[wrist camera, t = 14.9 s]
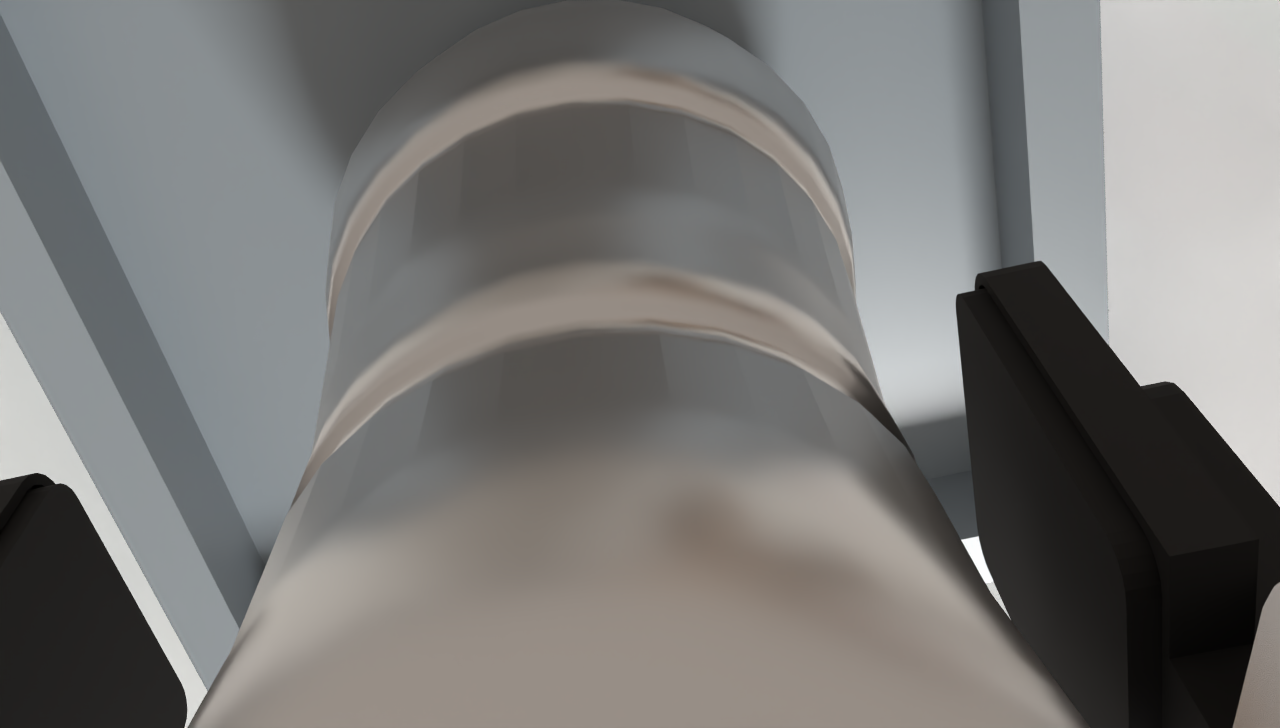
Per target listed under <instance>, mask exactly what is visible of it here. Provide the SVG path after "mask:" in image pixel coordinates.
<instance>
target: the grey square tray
mask: <svg viewBox="0 0 1280 728" xmlns="http://www.w3.org/2000/svg"><path fill="white" fill-rule="evenodd" d="M562 1H566V0H0V312H1V314H2V316H3V317H4V319H5V321H6V323H7V325H8V327H9V328H10V330H11V332H12V334H13V336H14V338H15V339H16V341H17V343H18V345H19V347H20V349H21V350H22V352H23V354H24V356H25V358H26V360H27V361H28V363H29V365H30V367H31V369H32V371H33V372H34V374H35V376H36V378H37V380H38V382H39V383H40V385H41V387H42V389H43V391H44V393H45V394H46V396H47V398H48V400H49V402H50V403H51V405H52V407H53V409H54V411H55V413H56V414H57V416H58V418H59V420H60V422H61V424H62V425H63V427H64V429H65V431H66V433H67V435H68V436H69V438H70V440H71V442H72V444H73V446H74V447H75V449H76V451H77V453H78V455H79V457H80V458H81V460H82V462H83V464H84V466H85V468H86V469H87V471H88V473H89V475H90V477H91V479H92V480H93V482H94V484H95V486H96V488H97V490H98V491H99V493H100V495H101V497H102V499H103V501H104V502H105V504H106V506H107V508H108V510H109V512H110V513H111V515H112V517H113V519H114V521H115V523H116V524H117V526H118V528H119V530H120V532H121V533H122V535H123V537H124V539H125V541H126V543H127V544H128V546H129V548H130V550H131V552H132V554H133V555H134V557H135V559H136V561H137V563H138V565H139V566H140V568H141V570H142V572H143V574H144V576H145V577H146V579H147V581H148V583H149V585H150V587H151V588H152V590H153V592H154V594H155V596H156V598H157V599H158V601H159V603H160V605H161V607H162V609H163V610H164V612H165V614H166V616H167V618H168V620H169V621H170V623H171V625H172V627H173V629H174V631H175V632H176V634H177V636H178V638H179V640H180V642H181V643H182V645H183V647H184V649H185V651H186V653H187V654H188V656H189V658H190V660H191V662H192V664H193V665H194V667H195V669H196V671H197V673H198V674H199V676H200V678H201V680H202V682H203V684H204V685H205V687H206V689H207V691H208V690H209V689H210V687H211V685H212V683H213V682H214V680H215V678H216V676H217V674H218V673H219V671H220V669H221V667H222V665H223V664H224V662H225V660H226V658H227V657H228V655H229V653H230V651H231V649H232V647H233V644H234V642H235V640H236V637H237V635H238V632H239V630H240V627H241V625H242V622H243V620H244V618H245V615H246V613H247V610H248V608H249V605H250V603H251V600H252V598H253V596H254V593H255V591H256V588H257V586H258V583H259V581H260V578H261V576H262V574H263V571H264V569H265V566H266V564H267V561H268V559H269V556H270V554H271V552H272V549H273V547H274V544H275V542H276V539H277V537H278V534H279V532H280V530H281V527H282V525H283V522H284V520H285V517H286V515H287V514H288V512H289V510H290V507H291V505H292V502H293V499H294V497H295V494H296V492H297V489H298V486H299V484H300V481H301V479H302V476H303V474H304V471H305V469H306V466H307V464H308V462H309V459H310V457H311V454H312V448H313V442H314V436H315V430H316V425H317V419H318V413H319V407H320V401H321V395H322V389H323V383H324V377H325V371H326V365H327V359H328V353H329V347H330V338H329V328H328V318H327V308H326V298H325V290H326V279H327V267H328V256H329V246H330V237H331V229H332V221H333V213H334V205H335V200H336V197H337V194H338V191H339V188H340V186H341V183H342V180H343V177H344V174H345V172H346V169H347V166H348V163H349V160H350V157H351V155H352V153H353V152H354V150H355V148H356V147H357V145H358V143H359V142H360V140H361V139H362V137H363V135H364V134H365V132H366V131H367V129H368V127H369V126H370V124H371V122H372V121H373V119H374V118H375V116H376V114H377V113H378V111H379V110H380V109H381V108H382V107H383V106H384V105H385V104H386V103H387V102H388V101H389V100H390V99H391V98H392V97H393V96H394V95H395V94H396V92H397V91H398V90H399V89H400V88H401V87H402V86H403V85H404V84H405V83H406V82H407V81H408V80H409V79H410V78H411V77H412V76H413V75H414V74H415V73H416V72H417V71H418V70H420V69H421V68H422V67H424V66H425V65H426V64H428V63H429V62H430V61H432V60H433V59H434V58H436V57H437V56H438V55H440V54H441V53H443V52H444V51H446V50H447V49H449V48H450V47H451V46H453V45H454V44H456V43H457V42H459V41H460V40H462V39H463V38H464V37H466V36H467V35H469V34H470V33H472V32H473V31H475V30H476V29H478V28H481V27H483V26H485V25H488V24H490V23H492V22H494V21H497V20H499V19H501V18H504V17H506V16H508V15H511V14H513V13H515V12H518V11H520V10H524V9H529V8H534V7H538V6H543V5H548V4H552V3H557V2H562ZM621 1H627V2H632V3H637V4H643V5H648V6H654V7H659V8H663V9H666V10H668V11H671V12H673V13H676V14H678V15H680V16H683V17H685V18H688V19H690V20H693V21H695V22H698V23H700V24H703V25H705V26H707V27H709V28H711V29H712V30H714V31H716V32H718V33H720V34H722V35H723V36H725V37H727V38H729V39H730V40H732V41H733V42H734V43H736V44H737V45H739V46H740V47H742V48H743V49H745V50H746V51H748V52H749V53H751V54H752V55H754V56H755V57H756V58H758V59H759V60H761V61H762V62H764V63H765V64H767V65H768V66H770V67H771V68H772V69H773V70H774V72H775V73H776V74H777V75H778V76H779V77H780V78H781V79H782V80H783V81H784V82H785V83H786V84H787V85H788V86H789V88H790V89H791V90H792V91H793V92H794V93H795V94H796V95H797V96H798V97H799V98H800V99H801V100H802V101H803V102H804V104H805V105H806V107H807V109H808V110H809V112H810V114H811V116H812V117H813V119H814V121H815V122H816V124H817V126H818V127H819V129H820V131H821V133H822V134H823V136H824V138H825V139H826V141H827V143H828V144H829V147H830V150H831V153H832V157H833V160H834V163H835V166H836V169H837V172H838V176H839V179H840V182H841V185H842V188H843V192H844V197H845V202H846V207H847V212H848V217H849V222H850V227H851V232H852V241H853V253H854V265H855V277H856V305H857V308H858V312H859V315H860V319H861V322H862V326H863V329H864V333H865V336H866V340H867V343H868V347H869V350H870V354H871V357H872V361H873V364H874V368H875V371H876V375H877V378H878V382H879V386H880V389H881V393H882V396H883V400H884V403H885V405H886V407H887V409H888V410H889V412H890V414H891V416H892V417H893V419H894V421H895V423H896V425H897V426H898V428H899V430H900V432H901V433H902V435H903V437H904V439H905V440H906V442H907V444H908V446H909V447H910V449H911V451H912V453H913V454H914V457H915V460H916V464H917V466H918V467H919V469H920V470H921V472H922V474H923V475H924V477H925V478H926V480H927V481H928V483H929V484H930V486H931V488H932V489H933V491H934V492H935V494H936V496H937V497H938V499H939V501H940V503H941V505H942V506H943V508H944V510H945V512H946V514H947V515H948V517H949V519H950V521H951V523H952V524H953V526H954V528H955V530H956V532H957V533H958V535H959V537H960V539H961V540H962V542H963V544H964V546H965V548H966V549H967V551H968V553H969V555H970V557H971V558H972V560H973V562H974V564H975V566H976V567H977V569H978V571H979V573H980V575H981V576H982V578H983V580H984V582H985V583H990V582H994V581H993V579H992V577H991V574H990V572H989V570H988V568H987V565H986V562H985V559H984V556H983V553H982V549H981V545H980V541H979V536H978V529H977V521H976V511H975V500H974V490H973V480H972V470H971V460H970V449H969V439H968V429H967V419H966V408H965V398H964V388H963V378H962V368H961V357H960V347H959V337H958V327H957V316H956V297H957V294H960V293H965V292H970V291H975V278H976V276H977V274H978V273H983V272H988V271H992V270H997V269H1002V268H1006V267H1011V266H1016V265H1021V264H1025V263H1030V262H1035V261H1042V262H1043V263H1044V264H1045V265H1046V266H1047V267H1048V268H1049V269H1050V271H1051V272H1052V273H1053V275H1054V276H1055V277H1056V278H1057V280H1058V281H1059V282H1060V284H1061V285H1062V286H1063V287H1064V289H1065V290H1066V291H1067V293H1068V294H1069V295H1070V296H1071V298H1072V299H1073V300H1074V302H1075V303H1076V304H1077V305H1078V307H1079V308H1080V309H1081V311H1082V312H1083V313H1084V314H1085V316H1086V317H1087V318H1088V320H1089V321H1090V322H1091V323H1092V325H1093V326H1094V327H1095V329H1096V330H1097V331H1098V332H1099V334H1100V335H1101V336H1102V338H1103V339H1104V340H1105V341H1106V343H1107V344H1108V345H1109V325H1108V288H1107V250H1106V212H1105V174H1104V136H1103V98H1102V60H1101V23H1100V0H621Z"/></svg>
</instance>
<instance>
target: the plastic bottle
mask: <svg viewBox="0 0 1280 728" xmlns="http://www.w3.org/2000/svg"><path fill="white" fill-rule="evenodd" d="M325 298H326V308H327V318H328V328H329V338H330V347H329V353H328V359H327V365H326V371H325V377H324V383H323V389H322V395H321V401H320V407H319V413H318V419H317V425H316V430H315V436H314V442H313V448H312V454H311V457H310V459H309V462H308V464H307V466H306V469H305V471H304V474H303V476H302V479H301V481H300V484H299V486H298V489H297V492H296V494H295V497H294V499H293V502H292V505H291V507H290V510H289V512H288V514H287V515H286V517H285V520H284V522H283V525H282V527H281V530H280V532H279V534H278V537H277V539H276V542H275V544H274V547H273V549H272V552H271V554H270V556H269V559H268V561H267V564H266V566H265V569H264V571H263V574H262V576H261V578H260V581H259V583H258V586H257V588H256V591H255V593H254V596H253V598H252V600H251V603H250V605H249V608H248V610H247V613H246V615H245V618H244V620H243V622H242V625H241V627H240V630H239V632H238V635H237V637H236V640H235V642H234V644H233V647H232V649H231V651H230V653H229V655H228V657H227V658H226V660H225V662H224V664H223V665H222V667H221V669H220V671H219V673H218V674H217V676H216V678H215V680H214V682H213V683H212V685H211V687H210V689H209V690H208V692H207V694H206V696H205V698H204V699H203V701H202V703H201V705H200V706H199V708H198V710H197V712H196V714H195V715H194V717H193V719H192V721H191V722H190V724H189V726H188V728H1090V727H1089V725H1088V724H1087V723H1086V721H1085V720H1084V719H1083V717H1082V716H1081V715H1080V713H1079V712H1078V710H1077V709H1076V708H1075V706H1074V705H1073V704H1072V702H1071V701H1070V700H1069V698H1068V697H1067V696H1066V694H1065V693H1064V692H1063V690H1062V689H1061V687H1060V686H1059V685H1058V683H1057V682H1056V681H1055V679H1054V678H1053V677H1052V675H1051V674H1050V673H1049V671H1048V670H1047V669H1046V667H1045V666H1044V664H1043V663H1042V662H1041V660H1040V659H1039V658H1038V656H1037V655H1036V654H1035V652H1034V651H1033V650H1032V648H1031V647H1030V646H1029V644H1028V643H1027V641H1026V640H1025V639H1024V637H1023V636H1022V635H1021V633H1020V632H1019V631H1018V629H1017V628H1016V627H1015V625H1014V624H1013V623H1012V621H1011V620H1010V618H1009V617H1008V616H1007V614H1006V613H1005V612H1004V610H1003V609H1002V608H1001V606H1000V605H999V604H998V602H997V601H996V600H995V598H994V597H993V595H992V594H991V593H990V591H989V589H988V587H987V585H986V584H985V582H984V580H983V578H982V576H981V575H980V573H979V571H978V569H977V567H976V566H975V564H974V562H973V560H972V558H971V557H970V555H969V553H968V551H967V549H966V548H965V546H964V544H963V542H962V540H961V539H960V537H959V535H958V533H957V532H956V530H955V528H954V526H953V524H952V523H951V521H950V519H949V517H948V515H947V514H946V512H945V510H944V508H943V506H942V505H941V503H940V501H939V499H938V497H937V496H936V494H935V492H934V491H933V489H932V488H931V486H930V484H929V483H928V481H927V480H926V478H925V477H924V475H923V474H922V472H921V470H920V469H919V467H918V466H917V464H916V460H915V457H914V454H913V453H912V451H911V449H910V447H909V446H908V444H907V442H906V440H905V439H904V437H903V435H902V433H901V432H900V430H899V428H898V426H897V425H896V423H895V421H894V419H893V417H892V416H891V414H890V412H889V410H888V409H887V407H886V405H885V403H884V400H883V396H882V393H881V389H880V386H879V382H878V378H877V375H876V371H875V368H874V364H873V361H872V357H871V354H870V350H869V347H868V343H867V340H866V336H865V333H864V329H863V326H862V322H861V319H860V315H859V312H858V308H857V305H856V277H855V265H854V253H853V241H852V232H851V227H850V222H849V217H848V212H847V207H846V202H845V197H844V192H843V188H842V185H841V182H840V179H839V176H838V172H837V169H836V166H835V163H834V160H833V157H832V153H831V150H830V147H829V144H828V143H827V141H826V139H825V138H824V136H823V134H822V133H821V131H820V129H819V127H818V126H817V124H816V122H815V121H814V119H813V117H812V116H811V114H810V112H809V110H808V109H807V107H806V105H805V104H804V102H803V101H802V100H801V99H800V98H799V97H798V96H797V95H796V94H795V93H794V92H793V91H792V90H791V89H790V88H789V86H788V85H787V84H786V83H785V82H784V81H783V80H782V79H781V78H780V77H779V76H778V75H777V74H776V73H775V72H774V70H773V69H772V68H771V67H770V66H768V65H767V64H765V63H764V62H762V61H761V60H759V59H758V58H756V57H755V56H754V55H752V54H751V53H749V52H748V51H746V50H745V49H743V48H742V47H740V46H739V45H737V44H736V43H734V42H733V41H732V40H730V39H729V38H727V37H725V36H723V35H722V34H720V33H718V32H716V31H714V30H712V29H711V28H709V27H707V26H705V25H703V24H700V23H698V22H695V21H693V20H690V19H688V18H685V17H683V16H680V15H678V14H676V13H673V12H671V11H668V10H666V9H663V8H659V7H654V6H648V5H643V4H637V3H632V2H627V1H621V0H566V1H562V2H557V3H552V4H548V5H543V6H538V7H534V8H529V9H524V10H520V11H518V12H515V13H513V14H511V15H508V16H506V17H504V18H501V19H499V20H497V21H494V22H492V23H490V24H488V25H485V26H483V27H481V28H478V29H476V30H475V31H473V32H472V33H470V34H469V35H467V36H466V37H464V38H463V39H462V40H460V41H459V42H457V43H456V44H454V45H453V46H451V47H450V48H449V49H447V50H446V51H444V52H443V53H441V54H440V55H438V56H437V57H436V58H434V59H433V60H432V61H430V62H429V63H428V64H426V65H425V66H424V67H422V68H421V69H420V70H418V71H417V72H416V73H415V74H414V75H413V76H412V77H411V78H410V79H409V80H408V81H407V82H406V83H405V84H404V85H403V86H402V87H401V88H400V89H399V90H398V91H397V92H396V94H395V95H394V96H393V97H392V98H391V99H390V100H389V101H388V102H387V103H386V104H385V105H384V106H383V107H382V108H381V109H380V110H379V111H378V113H377V114H376V116H375V118H374V119H373V121H372V122H371V124H370V126H369V127H368V129H367V131H366V132H365V134H364V135H363V137H362V139H361V140H360V142H359V143H358V145H357V147H356V148H355V150H354V152H353V153H352V155H351V157H350V160H349V163H348V166H347V169H346V172H345V174H344V177H343V180H342V183H341V186H340V188H339V191H338V194H337V197H336V200H335V205H334V213H333V221H332V229H331V237H330V246H329V256H328V267H327V279H326V290H325Z"/></svg>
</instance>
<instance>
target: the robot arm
mask: <svg viewBox="0 0 1280 728" xmlns="http://www.w3.org/2000/svg"><path fill="white" fill-rule="evenodd" d="M956 316H957V327H958V337H959V347H960V357H961V368H962V378H963V388H964V398H965V408H966V419H967V429H968V439H969V449H970V460H971V470H972V480H973V490H974V500H975V511H976V521H977V529H978V536H979V541H980V545H981V549H982V553H983V556H984V559H985V562H986V565H987V568H988V570H989V572H990V574H991V577H992V579H993V581H994V583H995V586H996V588H997V590H998V592H999V594H1000V597H1001V599H1002V601H1003V603H1004V605H1005V608H1006V610H1007V612H1008V614H1009V616H1010V619H1011V621H1012V623H1013V624H1014V625H1015V627H1016V628H1017V629H1018V631H1019V632H1020V633H1021V635H1022V636H1023V637H1024V639H1025V640H1026V641H1027V643H1028V644H1029V646H1030V647H1031V648H1032V650H1033V651H1034V652H1035V654H1036V655H1037V656H1038V658H1039V659H1040V660H1041V662H1042V663H1043V664H1044V666H1045V667H1046V669H1047V670H1048V671H1049V673H1050V674H1051V675H1052V677H1053V678H1054V679H1055V681H1056V682H1057V683H1058V685H1059V686H1060V687H1061V689H1062V690H1063V692H1064V693H1065V694H1066V696H1067V697H1068V698H1069V700H1070V701H1071V702H1072V704H1073V705H1074V706H1075V708H1076V709H1077V710H1078V712H1079V713H1080V715H1081V716H1082V717H1083V719H1084V720H1085V721H1086V723H1087V724H1088V725H1089V727H1090V728H1280V507H1279V506H1278V504H1277V503H1276V502H1275V501H1274V500H1273V498H1272V497H1271V496H1270V495H1269V494H1268V492H1267V491H1266V490H1265V489H1264V488H1263V486H1262V485H1261V484H1260V483H1259V482H1258V480H1257V479H1256V478H1255V477H1254V476H1253V474H1252V473H1251V472H1250V471H1249V470H1248V468H1247V467H1246V466H1245V465H1244V464H1243V462H1242V461H1241V460H1240V459H1239V458H1238V456H1237V455H1236V454H1235V453H1234V452H1233V450H1232V449H1231V448H1230V447H1229V446H1228V444H1227V443H1226V442H1225V441H1224V439H1223V438H1222V437H1221V436H1220V435H1219V433H1218V432H1217V431H1216V430H1215V429H1214V427H1213V426H1212V425H1211V424H1210V423H1209V421H1208V420H1207V419H1206V418H1205V417H1204V415H1203V414H1202V413H1201V412H1200V411H1199V409H1198V408H1197V407H1196V406H1195V405H1194V403H1193V402H1192V401H1191V400H1190V399H1189V397H1188V396H1187V395H1186V394H1185V393H1184V392H1183V391H1182V390H1181V389H1180V388H1179V387H1178V386H1177V385H1176V384H1174V383H1170V382H1160V383H1155V384H1150V385H1145V386H1141V387H1140V385H1139V384H1138V383H1137V381H1136V380H1135V379H1134V378H1133V376H1132V375H1131V374H1130V372H1129V371H1128V370H1127V369H1126V367H1125V366H1124V365H1123V363H1122V362H1121V361H1120V359H1119V358H1118V357H1117V356H1116V354H1115V353H1114V352H1113V350H1112V349H1111V348H1110V347H1109V345H1108V344H1107V343H1106V341H1105V340H1104V339H1103V338H1102V336H1101V335H1100V334H1099V332H1098V331H1097V330H1096V329H1095V327H1094V326H1093V325H1092V323H1091V322H1090V321H1089V320H1088V318H1087V317H1086V316H1085V314H1084V313H1083V312H1082V311H1081V309H1080V308H1079V307H1078V305H1077V304H1076V303H1075V302H1074V300H1073V299H1072V298H1071V296H1070V295H1069V294H1068V293H1067V291H1066V290H1065V289H1064V287H1063V286H1062V285H1061V284H1060V282H1059V281H1058V280H1057V278H1056V277H1055V276H1054V275H1053V273H1052V272H1051V271H1050V269H1049V268H1048V267H1047V266H1046V265H1045V264H1044V263H1043V262H1042V261H1035V262H1030V263H1025V264H1021V265H1016V266H1011V267H1006V268H1002V269H997V270H992V271H988V272H983V273H978V274H977V276H976V278H975V291H970V292H965V293H960V294H957V297H956ZM186 719H187V701H186V696H185V692H184V689H183V686H182V684H181V682H180V680H179V678H178V677H177V675H176V673H175V671H174V670H173V668H172V666H171V664H170V662H169V661H168V659H167V657H166V655H165V653H164V652H163V650H162V648H161V646H160V644H159V643H158V641H157V639H156V637H155V635H154V634H153V632H152V630H151V628H150V627H149V625H148V623H147V621H146V619H145V618H144V616H143V614H142V612H141V610H140V609H139V607H138V605H137V603H136V601H135V600H134V598H133V596H132V594H131V592H130V591H129V589H128V587H127V585H126V584H125V582H124V580H123V578H122V576H121V575H120V573H119V571H118V569H117V567H116V566H115V564H114V562H113V560H112V558H111V557H110V555H109V553H108V551H107V549H106V548H105V546H104V544H103V542H102V541H101V539H100V537H99V535H98V533H97V532H96V530H95V528H94V526H93V524H92V523H91V521H90V519H89V517H88V515H87V514H86V512H85V510H84V508H83V506H82V505H81V503H80V501H79V499H78V498H77V496H76V495H75V493H74V492H73V490H72V489H71V488H69V487H68V486H67V485H64V484H55V483H54V482H53V481H52V480H51V479H49V478H48V477H47V476H46V475H43V474H39V473H34V474H30V475H25V476H20V477H15V478H11V479H6V480H1V481H0V728H184V727H185V723H186Z"/></svg>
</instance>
